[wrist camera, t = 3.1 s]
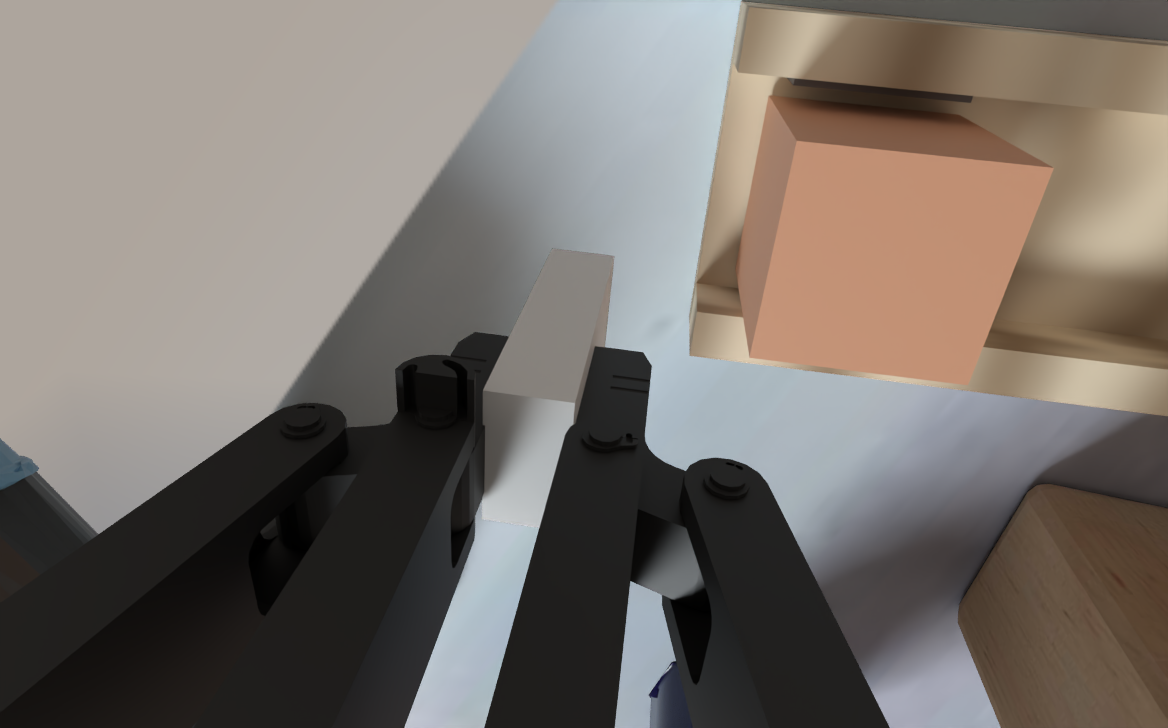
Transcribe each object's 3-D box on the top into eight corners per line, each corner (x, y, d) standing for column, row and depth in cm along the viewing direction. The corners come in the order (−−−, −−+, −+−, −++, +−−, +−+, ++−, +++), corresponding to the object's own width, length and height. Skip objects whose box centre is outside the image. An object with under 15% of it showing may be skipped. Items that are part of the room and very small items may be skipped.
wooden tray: (689, 314, 34) (689, 367, 29) (741, 1, 27) (751, 8, 23) (1235, 382, 32) (1322, 448, 28) (1427, 64, 25) (1580, 86, 21)
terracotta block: (735, 268, 31) (749, 357, 24) (768, 95, 27) (796, 140, 20) (903, 288, 30) (968, 385, 23) (959, 114, 27) (1054, 168, 20)
